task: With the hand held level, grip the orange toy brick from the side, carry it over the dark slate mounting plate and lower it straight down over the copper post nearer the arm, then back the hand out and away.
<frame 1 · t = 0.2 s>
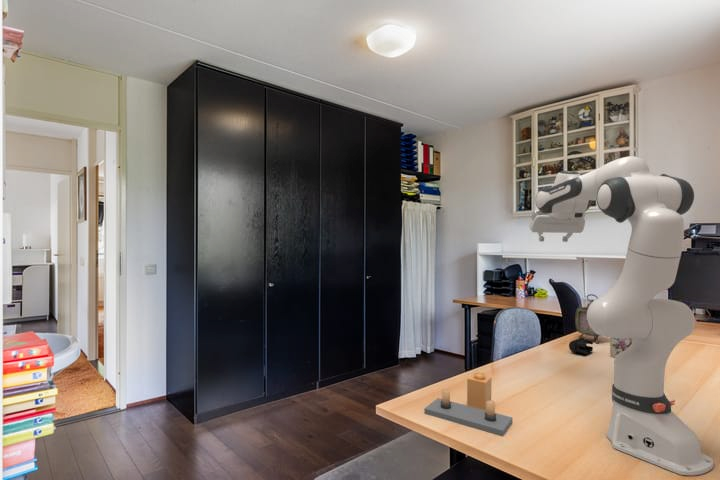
hand: (552, 241, 162), 54 cm above the table, tool tilted 30°, fingers open, 8 cm apart
decorative jar: (630, 359, 180), on the table
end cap: (580, 353, 189), on the table
tabletop clock: (592, 341, 212), on the table
orange toy brick: (479, 405, 129), on the table
mounting plate: (467, 417, 120), on the table
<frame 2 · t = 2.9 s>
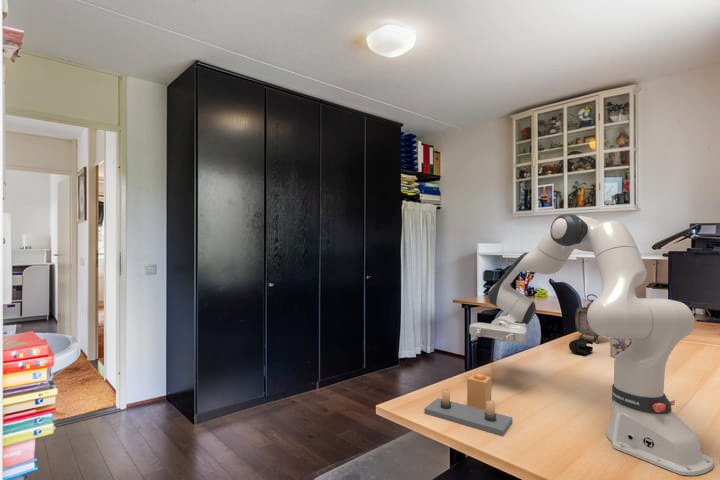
hand: (491, 336, 139), 20 cm above the table, tool horizontal, fingers open, 8 cm apart
nothing on the table moved.
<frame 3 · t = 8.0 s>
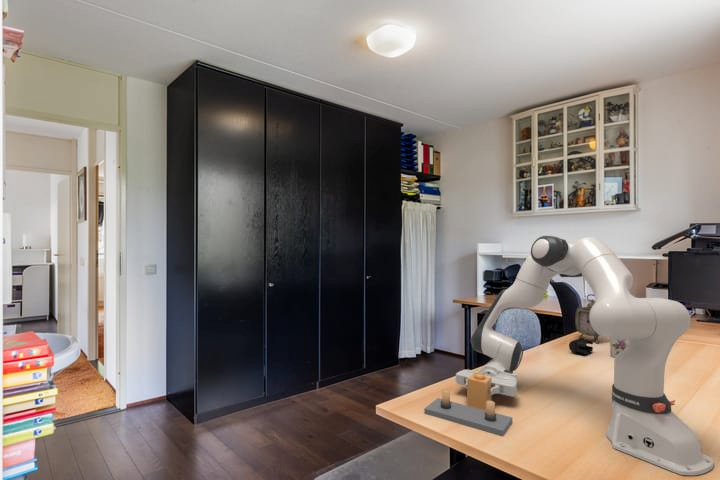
hand: (478, 389, 128), 6 cm above the table, tool horizontal, fingers closed on orange toy brick, 6 cm apart
orange toy brick: (479, 405, 129), on the table, touching gripper
everything else where it was.
when the fingers open (8 cm above the table, at t = 15.1 s): orange toy brick drops 1 cm, resting on mounting plate.
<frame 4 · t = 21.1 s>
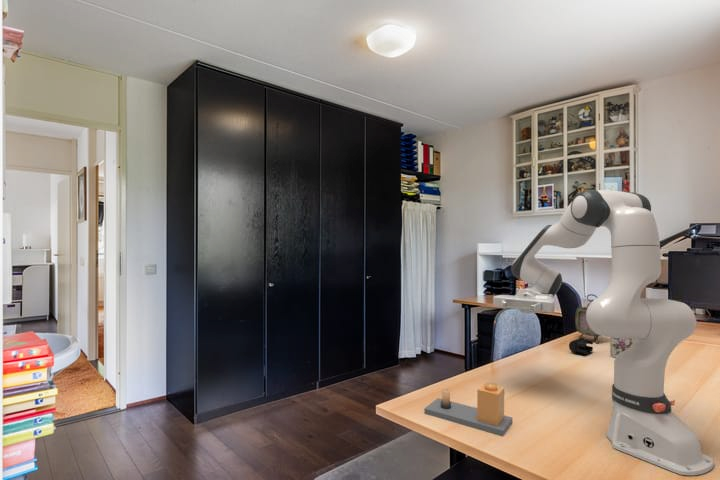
hand: (518, 306, 133), 32 cm above the table, tool horizontal, fingers open, 8 cm apart
orange toy brick: (490, 419, 116), point 1 cm above the table, touching mounting plate
everything else where it was.
at the end: orange toy brick 0.2 cm from the target spot on the mounting plate, point 1.5 cm above the mounting plate's base; orange toy brick tilted 0°; the gripper is holding nothing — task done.
